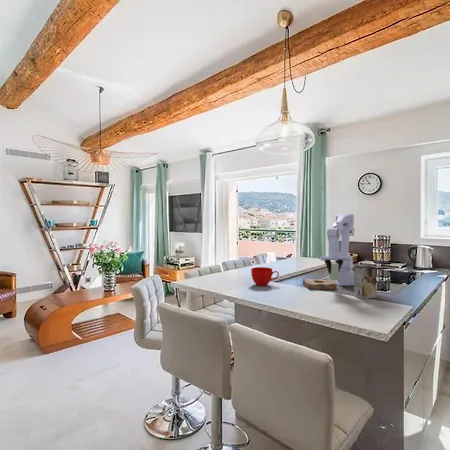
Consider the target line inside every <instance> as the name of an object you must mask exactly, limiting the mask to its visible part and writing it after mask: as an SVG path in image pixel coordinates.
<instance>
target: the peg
mask: <svg viewBox="0 0 450 450" xmlns="http://www.w3.org/2000/svg"><path fill="white" fill-rule="evenodd" d="M328 279H329V280H330V281H337V280H339V264H337V263H335V262H332V263H331V274H330V273H328Z"/></svg>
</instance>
